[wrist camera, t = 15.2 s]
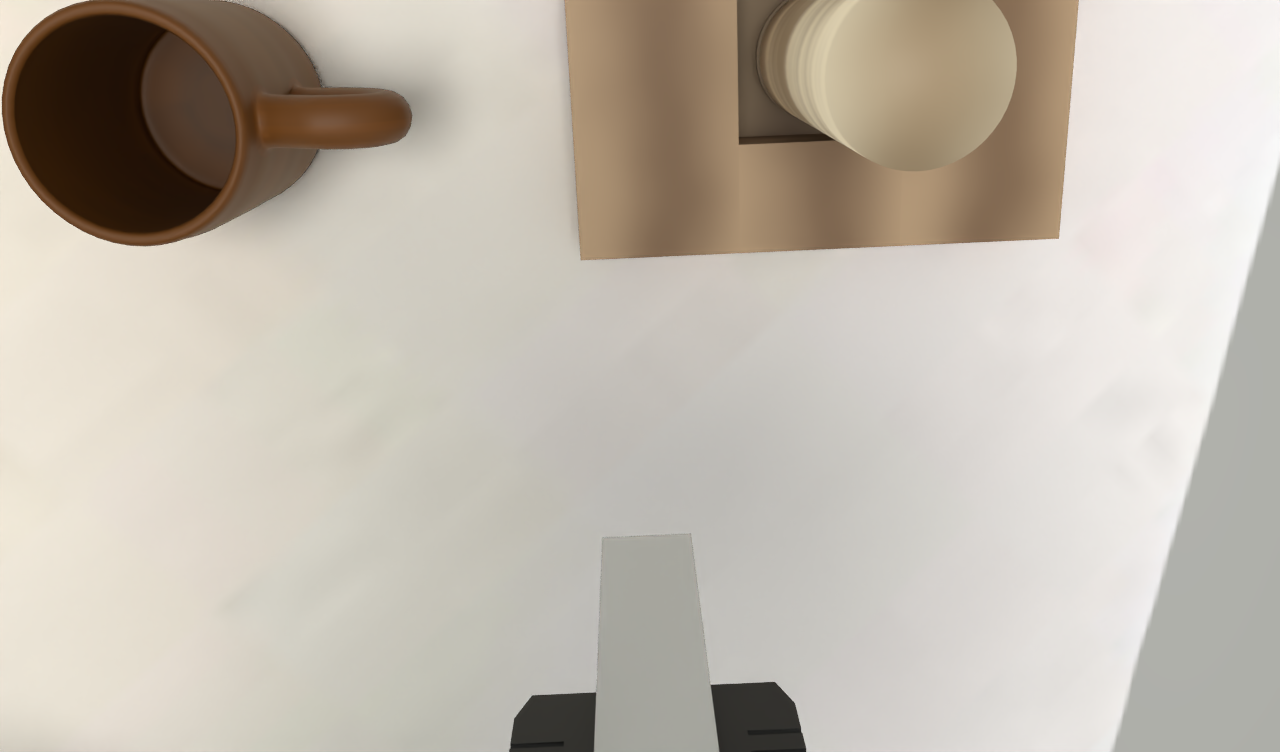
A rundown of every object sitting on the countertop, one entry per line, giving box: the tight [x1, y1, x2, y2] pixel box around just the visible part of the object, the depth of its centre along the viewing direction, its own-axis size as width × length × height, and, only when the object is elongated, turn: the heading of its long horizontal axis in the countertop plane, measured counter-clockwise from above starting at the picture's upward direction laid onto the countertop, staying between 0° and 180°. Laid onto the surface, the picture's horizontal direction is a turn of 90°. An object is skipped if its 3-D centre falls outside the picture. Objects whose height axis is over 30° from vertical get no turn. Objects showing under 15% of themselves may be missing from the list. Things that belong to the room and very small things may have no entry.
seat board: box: [565, 0, 1079, 260], centre depth 39 cm, size 18×14×3 cm
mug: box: [2, 0, 412, 246], centre depth 37 cm, size 12×8×9 cm, turn 91°
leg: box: [756, 0, 1017, 171], centre depth 33 cm, size 5×5×16 cm
